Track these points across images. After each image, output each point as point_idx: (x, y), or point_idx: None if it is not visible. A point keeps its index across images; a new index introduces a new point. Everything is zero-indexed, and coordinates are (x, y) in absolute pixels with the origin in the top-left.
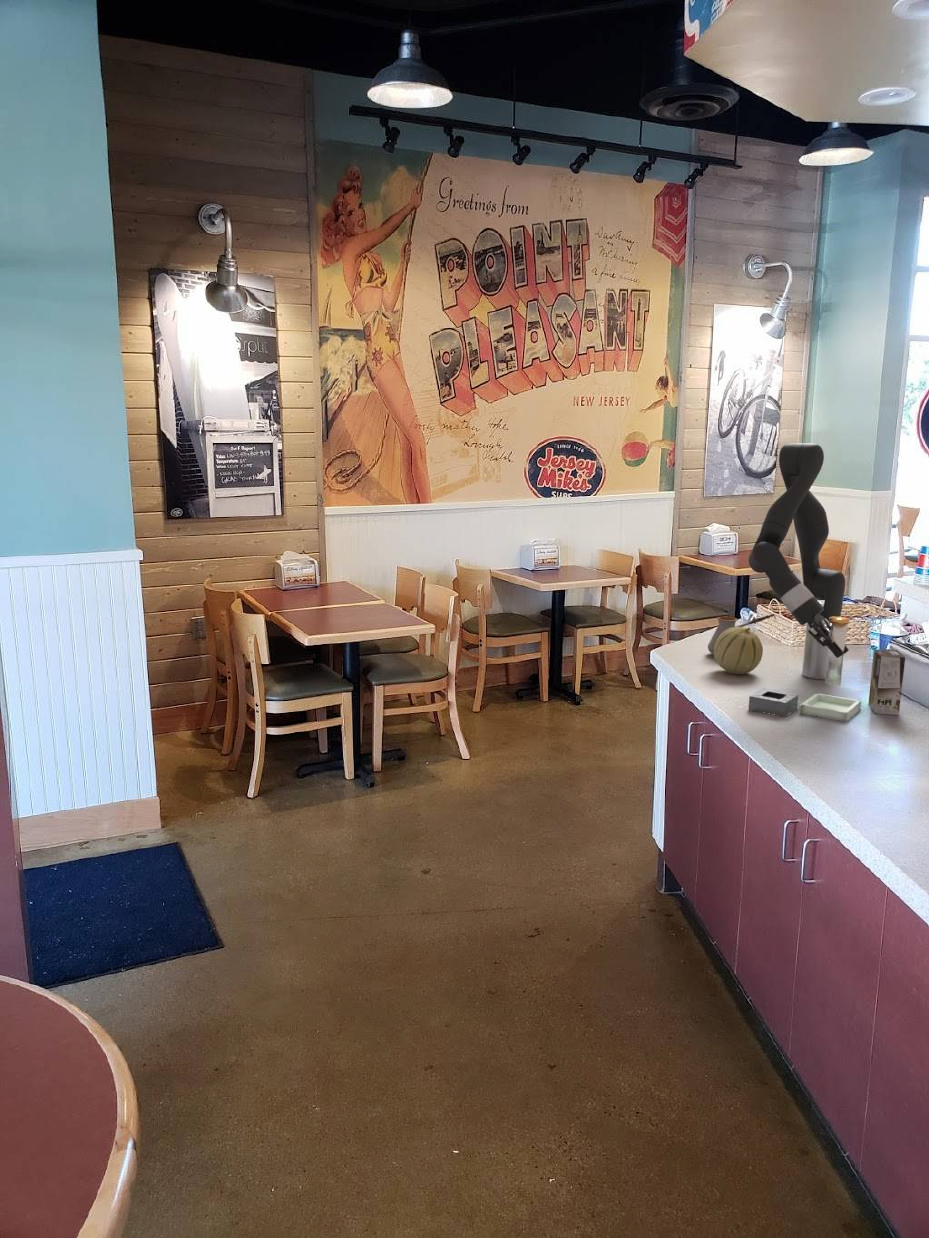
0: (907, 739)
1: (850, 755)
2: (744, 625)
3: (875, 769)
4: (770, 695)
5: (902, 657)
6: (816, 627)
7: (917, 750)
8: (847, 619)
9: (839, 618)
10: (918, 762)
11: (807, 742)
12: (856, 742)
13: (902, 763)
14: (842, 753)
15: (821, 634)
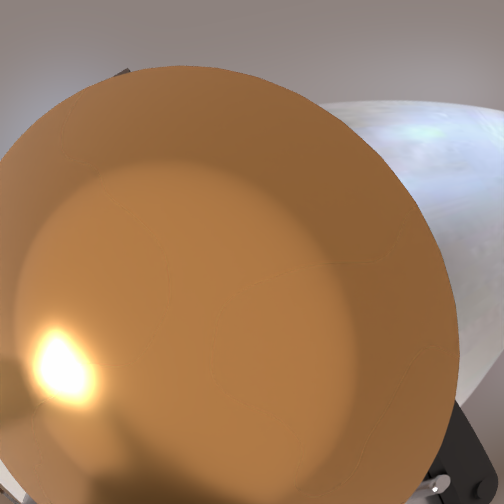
0: (352, 116)
1: (487, 188)
2: (10, 498)
3: (497, 151)
4: None
5: (129, 72)
6: (490, 481)
7: (395, 101)
8: (90, 115)
9: (64, 387)
10: (438, 102)
11: (487, 266)
12: (437, 190)
13: (458, 120)
14: (489, 200)
15: (456, 419)
